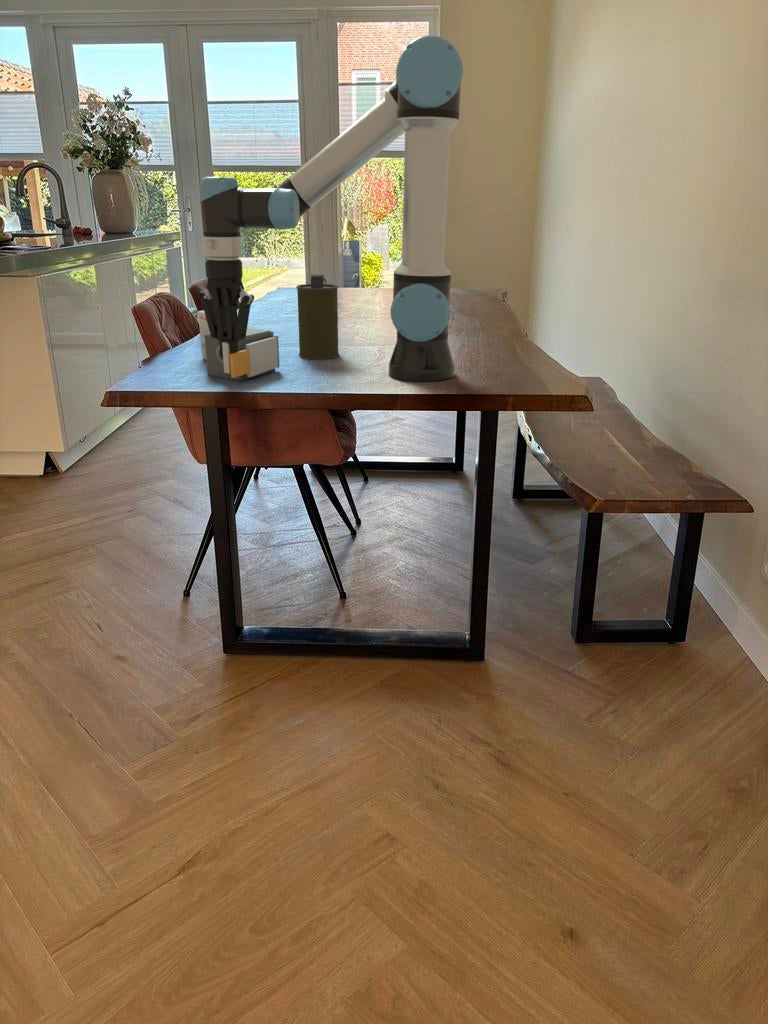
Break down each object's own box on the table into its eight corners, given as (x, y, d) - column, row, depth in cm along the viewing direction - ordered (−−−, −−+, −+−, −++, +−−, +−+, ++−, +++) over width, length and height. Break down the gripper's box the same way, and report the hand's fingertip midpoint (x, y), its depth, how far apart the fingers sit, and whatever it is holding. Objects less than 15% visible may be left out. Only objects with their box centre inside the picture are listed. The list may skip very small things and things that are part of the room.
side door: (280, 366, 179) (278, 335, 176) (235, 383, 163) (233, 349, 161) (276, 366, 179) (275, 335, 177) (231, 382, 164) (229, 348, 161)
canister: (338, 359, 192) (337, 277, 184) (296, 359, 192) (293, 276, 184) (340, 351, 202) (339, 272, 194) (300, 351, 202) (298, 272, 194)
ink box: (233, 362, 188) (230, 313, 184) (214, 364, 186) (210, 314, 181) (219, 356, 195) (216, 309, 190) (201, 358, 192) (196, 310, 188)
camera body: (275, 370, 179) (273, 328, 176) (238, 380, 169) (235, 336, 166) (242, 365, 184) (240, 324, 180) (204, 375, 174) (201, 331, 170)
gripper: (186, 258, 157) (195, 372, 166) (239, 261, 152) (245, 378, 161) (208, 255, 163) (216, 365, 172) (259, 258, 158) (265, 371, 167)
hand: (230, 371), depth 166 cm, fingers closed
